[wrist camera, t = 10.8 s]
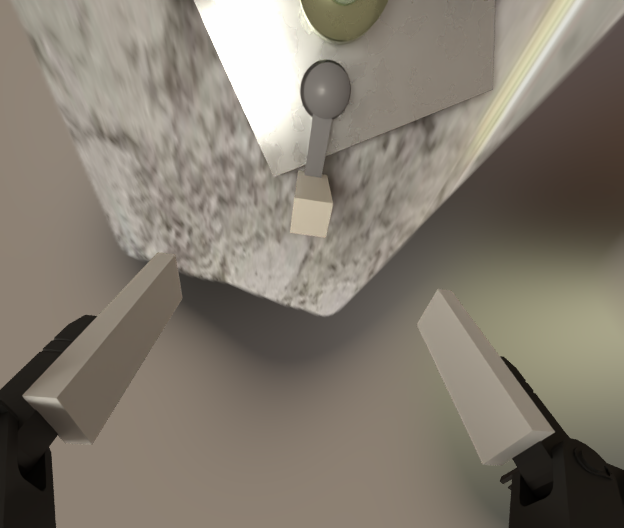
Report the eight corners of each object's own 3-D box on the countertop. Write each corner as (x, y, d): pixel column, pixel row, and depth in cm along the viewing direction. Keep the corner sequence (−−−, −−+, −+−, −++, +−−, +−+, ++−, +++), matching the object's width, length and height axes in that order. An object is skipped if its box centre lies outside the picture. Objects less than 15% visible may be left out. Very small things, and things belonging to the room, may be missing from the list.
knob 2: (307, 60, 22) (307, 44, 15) (351, 69, 22) (371, 58, 15) (291, 197, 29) (285, 231, 22) (325, 203, 29) (330, 238, 22)
